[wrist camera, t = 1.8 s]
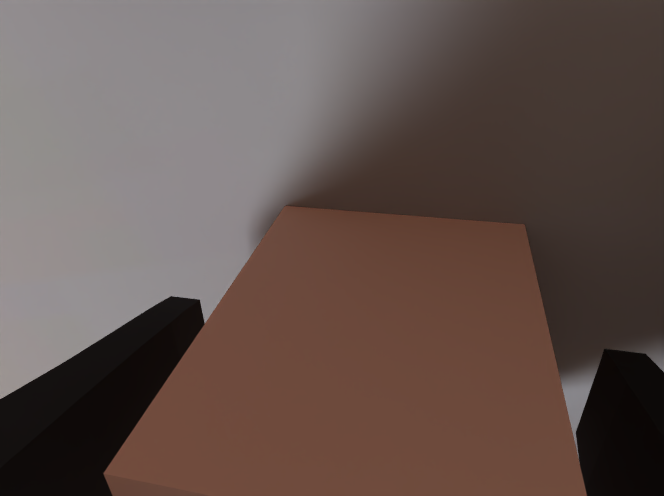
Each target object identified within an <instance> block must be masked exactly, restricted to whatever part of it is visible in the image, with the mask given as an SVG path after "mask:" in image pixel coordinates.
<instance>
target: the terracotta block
mask: <svg viewBox="0 0 664 496" xmlns="http://www.w3.org/2000/svg"><path fill="white" fill-rule="evenodd" d="M103 474H104V476H105V479H106V481H107V483H108V486H109V488H110V491H111V493H112V495H113V496H587V494H586V489H585V485H584V481H583V476H582V472H581V468H580V463H579V459H578V454H577V450H576V446H575V441H574V437H573V433H572V428H571V424H570V420H569V415H568V411H567V407H566V402H565V398H564V394H563V389H562V385H561V380H560V376H559V372H558V367H557V363H556V359H555V354H554V350H553V346H552V341H551V337H550V333H549V328H548V324H547V319H546V315H545V311H544V306H543V302H542V298H541V293H540V289H539V285H538V280H537V276H536V272H535V267H534V263H533V259H532V254H531V250H530V245H529V241H528V237H527V232H526V228H525V224H513V223H500V222H487V221H474V220H461V219H449V218H436V217H423V216H410V215H397V214H384V213H371V212H358V211H346V210H333V209H320V208H307V207H294V206H285V207H284V208H283V209H282V211H281V212H280V214H279V215H278V217H277V218H276V220H275V221H274V223H273V224H272V226H271V227H270V229H269V230H268V232H267V233H266V235H265V236H264V237H263V239H262V240H261V242H260V243H259V245H258V246H257V248H256V249H255V251H254V252H253V254H252V255H251V257H250V258H249V260H248V261H247V263H246V264H245V265H244V267H243V268H242V270H241V271H240V273H239V274H238V276H237V277H236V279H235V280H234V282H233V283H232V285H231V286H230V288H229V289H228V291H227V292H226V293H225V295H224V296H223V298H222V299H221V301H220V302H219V304H218V305H217V307H216V308H215V310H214V311H213V313H212V314H211V316H210V317H209V319H208V320H207V322H206V323H205V324H204V326H203V327H202V329H201V330H200V332H199V333H198V335H197V336H196V338H195V339H194V341H193V342H192V344H191V345H190V347H189V348H188V350H187V351H186V352H185V354H184V355H183V357H182V358H181V360H180V361H179V363H178V364H177V366H176V367H175V369H174V370H173V372H172V373H171V375H170V376H169V378H168V379H167V380H166V382H165V383H164V385H163V386H162V388H161V389H160V391H159V392H158V394H157V395H156V397H155V398H154V400H153V401H152V403H151V404H150V406H149V407H148V408H147V410H146V411H145V413H144V414H143V416H142V417H141V419H140V420H139V422H138V423H137V425H136V426H135V428H134V429H133V431H132V432H131V434H130V435H129V436H128V438H127V439H126V441H125V442H124V444H123V445H122V447H121V448H120V450H119V451H118V453H117V454H116V456H115V457H114V459H113V460H112V462H111V463H110V465H109V466H108V467H107V469H106V470H105V472H104V473H103Z"/></svg>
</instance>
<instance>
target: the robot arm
mask: <svg viewBox="0 0 664 496" xmlns="http://www.w3.org/2000/svg"><path fill="white" fill-rule="evenodd" d="M203 326H204V319H203V314H202V309H201V304H200V300H197V299H189V298H180V297H172V296H171V297H169V298H167V299H165V300H164V301H162V302H160V303H158V304H157V305H155V306H153V307H152V308H150V309H148V310H147V311H145V312H144V313H142V314H140V315H139V316H137V317H136V318H134V319H132V320H131V321H129V322H128V323H126V324H125V325H123V326H121V327H120V328H118V329H117V330H115V331H114V332H112V333H110V334H109V335H107V336H106V337H104V338H102V339H101V340H99V341H98V342H96V343H94V344H93V345H91V346H90V347H88V348H86V349H85V350H83V351H82V352H80V353H78V354H77V355H75V356H74V357H72V358H70V359H69V360H67V361H66V362H64V363H62V364H60V365H59V366H57V367H55V368H54V369H52V370H50V371H48V372H47V373H45V374H43V375H41V376H40V377H38V378H36V379H35V380H33V381H31V382H29V383H28V384H26V385H24V386H23V387H21V388H19V389H17V390H16V391H14V392H12V393H10V394H9V395H7V396H5V397H4V398H2V399H0V496H113V495H112V493H111V491H110V488H109V486H108V483H107V481H106V479H105V476H104V474H103V473H104V472H105V470H106V469H107V467H108V466H109V465H110V463H111V462H112V460H113V459H114V457H115V456H116V454H117V453H118V451H119V450H120V448H121V447H122V445H123V444H124V442H125V441H126V439H127V438H128V436H129V435H130V434H131V432H132V431H133V429H134V428H135V426H136V425H137V423H138V422H139V420H140V419H141V417H142V416H143V414H144V413H145V411H146V410H147V408H148V407H149V406H150V404H151V403H152V401H153V400H154V398H155V397H156V395H157V394H158V392H159V391H160V389H161V388H162V386H163V385H164V383H165V382H166V380H167V379H168V378H169V376H170V375H171V373H172V372H173V370H174V369H175V367H176V366H177V364H178V363H179V361H180V360H181V358H182V357H183V355H184V354H185V352H186V351H187V350H188V348H189V347H190V345H191V344H192V342H193V341H194V339H195V338H196V336H197V335H198V333H199V332H200V330H201V329H202V327H203ZM576 437H577V445H578V453H579V462H580V468H581V472H582V476H583V481H584V485H585V489H586V494H587V496H664V372H663V371H662V370H661V369H660V368H659V367H658V366H657V365H656V364H655V363H654V362H653V361H652V360H651V359H650V358H649V357H648V356H647V355H646V354H642V353H634V352H626V351H618V350H609V349H604V352H603V355H602V358H601V361H600V364H599V367H598V370H597V373H596V375H595V378H594V381H593V384H592V387H591V390H590V393H589V396H588V399H587V402H586V405H585V407H584V410H583V413H582V416H581V419H580V422H579V425H578V428H577V431H576Z"/></svg>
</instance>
